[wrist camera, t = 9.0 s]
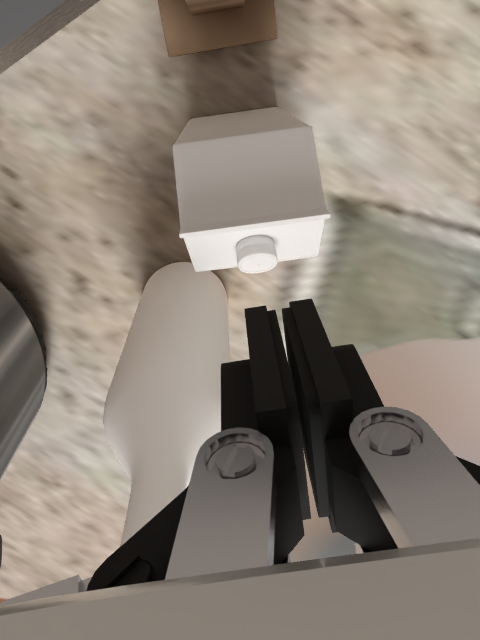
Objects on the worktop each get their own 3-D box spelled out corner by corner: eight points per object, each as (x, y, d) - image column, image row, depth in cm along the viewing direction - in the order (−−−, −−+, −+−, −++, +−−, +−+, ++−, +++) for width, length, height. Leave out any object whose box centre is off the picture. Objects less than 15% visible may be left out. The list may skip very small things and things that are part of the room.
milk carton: (188, 118, 36) (163, 157, 20) (277, 106, 36) (328, 134, 20) (203, 207, 40) (192, 304, 23) (284, 196, 40) (333, 285, 23)
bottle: (237, 325, 45) (263, 673, 19) (160, 345, 46) (82, 707, 20) (213, 250, 42) (205, 556, 15) (129, 273, 42) (-16, 603, 16)
